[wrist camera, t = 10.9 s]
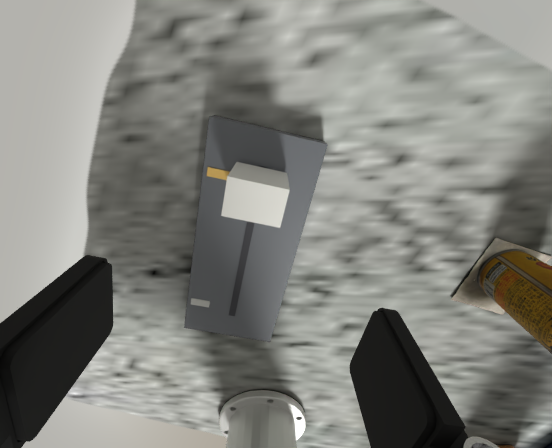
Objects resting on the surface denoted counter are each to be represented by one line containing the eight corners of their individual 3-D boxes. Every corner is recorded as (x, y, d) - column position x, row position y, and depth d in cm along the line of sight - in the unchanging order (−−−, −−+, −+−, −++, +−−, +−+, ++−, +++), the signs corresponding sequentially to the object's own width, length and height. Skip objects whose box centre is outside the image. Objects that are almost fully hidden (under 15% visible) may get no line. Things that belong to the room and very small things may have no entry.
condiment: (550, 255, 30) (707, 344, 19) (501, 313, 33) (611, 417, 22) (494, 236, 29) (625, 318, 18) (449, 297, 32) (537, 398, 22)
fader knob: (279, 204, 25) (280, 227, 21) (231, 194, 25) (221, 216, 20) (287, 172, 24) (289, 189, 19) (236, 161, 24) (227, 176, 19)
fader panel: (270, 329, 34) (270, 342, 32) (189, 315, 33) (184, 328, 31) (323, 141, 25) (327, 144, 23) (214, 115, 24) (208, 116, 22)
